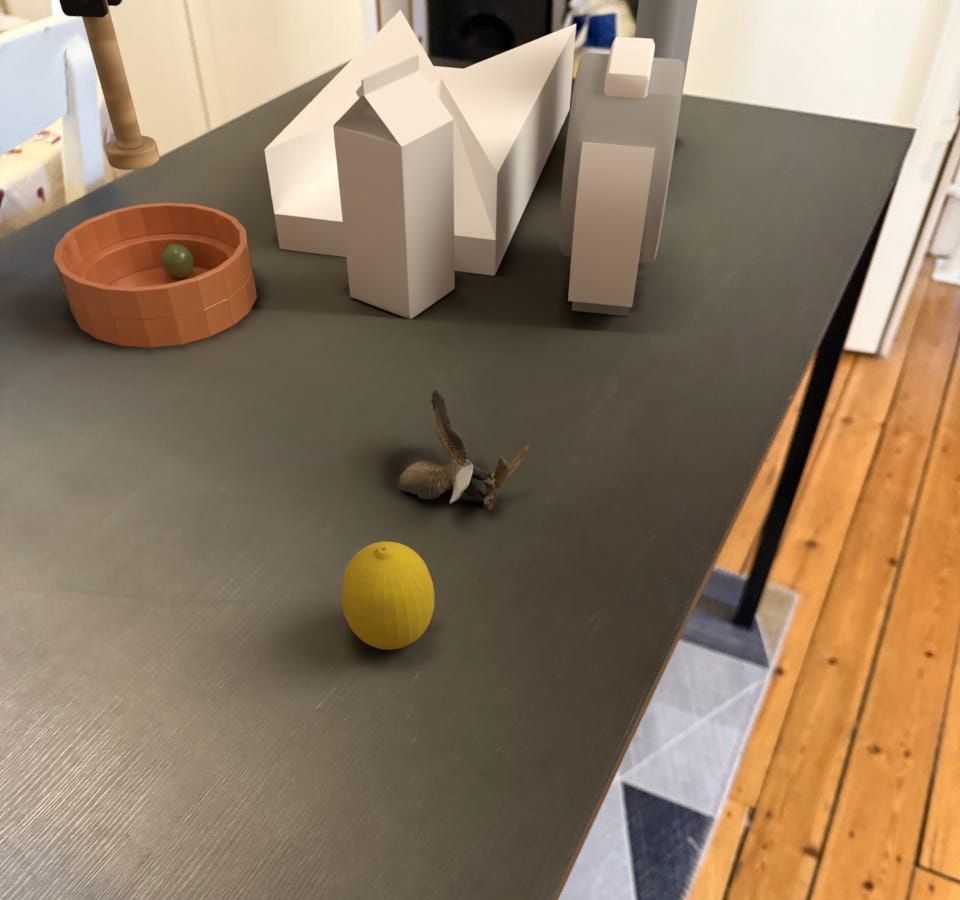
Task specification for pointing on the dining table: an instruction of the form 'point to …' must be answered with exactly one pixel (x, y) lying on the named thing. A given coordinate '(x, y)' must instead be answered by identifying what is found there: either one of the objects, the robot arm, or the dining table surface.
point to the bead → (177, 261)
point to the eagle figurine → (455, 467)
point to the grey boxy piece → (617, 170)
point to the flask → (667, 27)
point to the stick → (118, 99)
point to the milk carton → (397, 191)
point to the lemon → (387, 595)
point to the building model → (476, 142)
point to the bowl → (156, 274)
